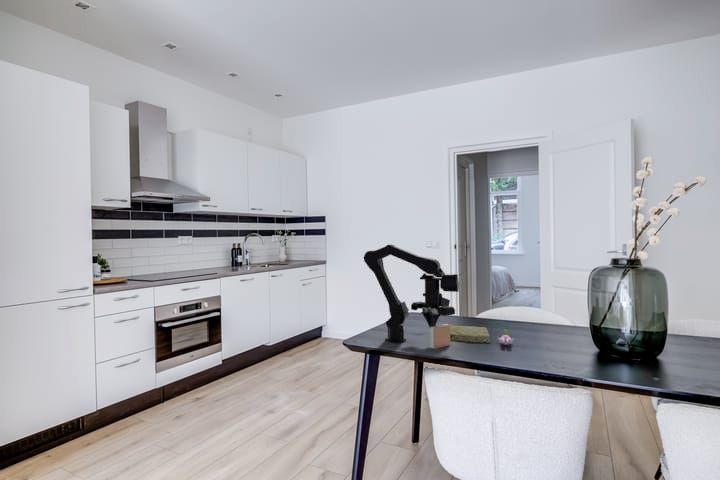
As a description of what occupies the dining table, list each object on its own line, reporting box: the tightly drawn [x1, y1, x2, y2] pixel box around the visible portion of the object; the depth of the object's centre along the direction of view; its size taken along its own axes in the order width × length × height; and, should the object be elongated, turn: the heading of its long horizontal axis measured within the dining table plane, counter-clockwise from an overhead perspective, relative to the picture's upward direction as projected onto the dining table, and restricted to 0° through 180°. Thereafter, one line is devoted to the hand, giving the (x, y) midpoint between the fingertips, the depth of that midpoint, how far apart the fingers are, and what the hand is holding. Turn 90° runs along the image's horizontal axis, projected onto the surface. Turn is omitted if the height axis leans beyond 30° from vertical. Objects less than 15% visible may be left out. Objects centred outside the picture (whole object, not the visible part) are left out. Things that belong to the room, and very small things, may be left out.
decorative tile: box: [450, 325, 491, 344], centre depth 176 cm, size 19×20×4 cm
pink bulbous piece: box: [497, 329, 515, 346], centre depth 163 cm, size 6×6×15 cm
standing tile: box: [429, 323, 451, 349], centre depth 161 cm, size 2×9×8 cm, turn 127°
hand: (432, 329), depth 164 cm, fingers closed
